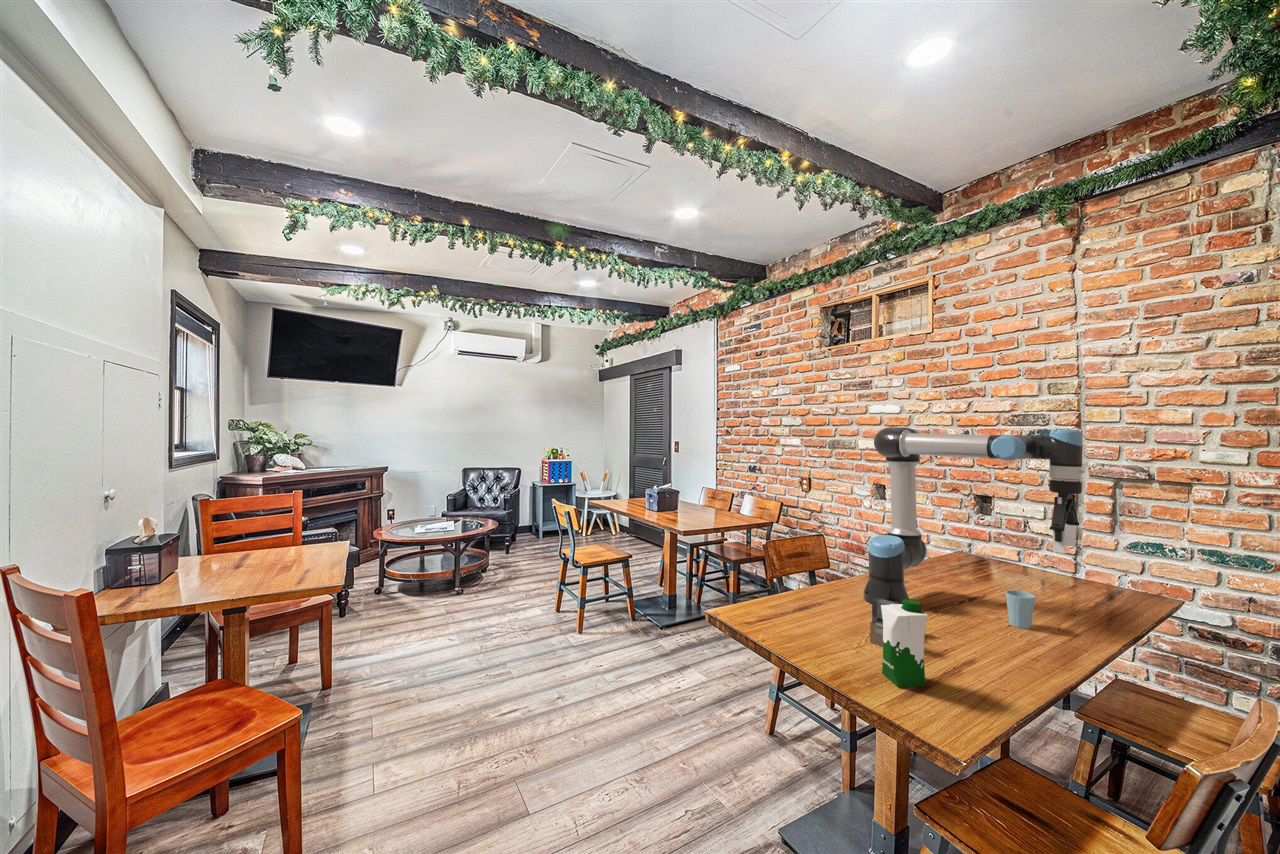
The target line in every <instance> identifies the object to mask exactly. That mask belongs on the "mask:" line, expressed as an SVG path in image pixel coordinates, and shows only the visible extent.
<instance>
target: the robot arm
mask: <svg viewBox="0 0 1280 854" xmlns="http://www.w3.org/2000/svg"><path fill="white" fill-rule="evenodd" d="M1049 431H1050V432H1049V435H1030V434H1029V435H1028V434H1027V435H1024V434H1022V435H1021V434H1011V435H1010V434H1005V435H1003V434H999V435H998V434H997V435H996V434H995V435H994V434H992V435H991V434H964V433H963V434H962V433H958V434H957V433H954V434H953V433H924V432H923V433H920V432H919V431H917V430H916V429H914V428H910V427H904V426H903V427H894V426H892V427H890V426H889V427H885V428H883V429H881V430H879V431H878V432H877V433H876V434H875V436H874V438H873V446H874V449H875V450H876V452H877V453H878V454H879V455H881V456H883V457H885V462H886V464H888V465H889V467H890V469H889V470H890V472H889V473H890V508H891V509H890V510H891V511H890V512H891V513H890V515H891V526H890V527H889V528H888V530H887V533H886V534H883V535H881V534H880V535H875V536H873V537H871V538H870V540H869V543H868V578H867V582H866V584H865V588H864V590H863V599H864V601H866V602H867V603H869V604H871V605H872V600H874V599H876V598H880V599H884V600H887V601H891V602H894V603H898V604H902V603H903V599H910V597H909V594H908V591H907V588H906V585H905V569H906V570H907V569H909V568H913V567H916V566H918V565H920V564H921V563H922V562H923V561H924V560H925V559H926V557H927V554H928V548H927V545H926V543H925V542H924V541H923V539H922V538H923V537H922V532H921V531H920V530H919V529H918V527H917V526H918V525H917V521H918V520H917V486H916V481H917V479H916V466H917V465H918V464H920V459H921V457H920V456H935V457H936V456H937V457H959V458H971V459H972V458H977V459H993V460H1003V461H1015V460H1024V459H1025V460H1027V459H1029V460H1045V461H1047V460H1048V461H1049V465H1048V466H1049V468H1048V470H1049V471H1048V477H1049V478H1050V480H1049V482H1048V483H1049V484H1048V486H1049V487H1048V489H1049V491H1050V492H1052V493H1057V496H1055V497H1054V498H1053V500H1054V501H1053V503H1054V504H1053V510H1052V511H1053V512H1052V516H1051V517H1052V518H1051V524H1050V526H1049V530H1051V531H1052V552H1053V553H1059V554H1066V546H1067V547H1068V546H1069V547H1075V548H1076V546H1077V545H1076V543H1077V539H1076V538H1077V526H1080V522H1079V520H1078V514H1077V513H1078V512H1077V504H1076V498H1077V496H1076V495H1080V494H1082V493H1083V482H1082V481H1081V480H1082V479H1083V477H1082V476H1083V474H1085V472H1086V471H1085V469H1083V449H1084V448H1083V447H1084V444H1083V434H1082V432H1081V431H1080V429H1079V430H1078V429H1051V430H1049Z"/></svg>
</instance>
